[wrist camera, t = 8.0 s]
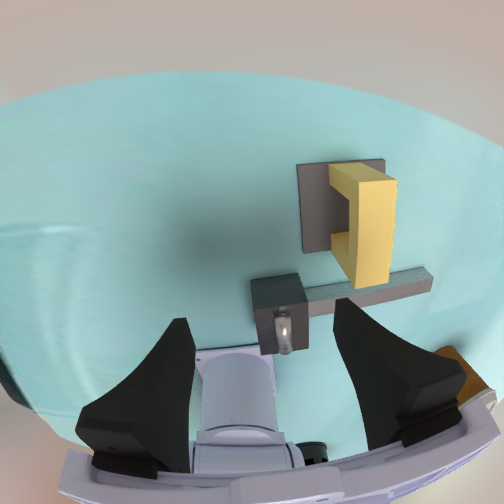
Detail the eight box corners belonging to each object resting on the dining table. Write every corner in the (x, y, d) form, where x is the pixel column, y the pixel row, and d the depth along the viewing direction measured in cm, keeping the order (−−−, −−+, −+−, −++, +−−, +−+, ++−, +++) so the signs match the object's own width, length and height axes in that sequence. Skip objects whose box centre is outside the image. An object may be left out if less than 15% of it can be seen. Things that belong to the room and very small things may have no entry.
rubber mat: (380, 240, 23) (382, 242, 22) (302, 251, 23) (303, 253, 22) (382, 159, 19) (385, 160, 19) (296, 164, 19) (297, 165, 19)
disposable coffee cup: (470, 341, 31) (507, 395, 21) (432, 383, 35) (460, 438, 25) (441, 332, 29) (485, 399, 19) (398, 380, 33) (428, 447, 22)
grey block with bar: (417, 293, 26) (440, 322, 21) (257, 324, 26) (261, 363, 22) (426, 251, 23) (454, 278, 19) (250, 280, 24) (254, 318, 19)
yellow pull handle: (358, 246, 22) (387, 282, 17) (330, 250, 22) (354, 289, 17) (359, 162, 19) (397, 179, 14) (328, 164, 19) (358, 182, 14)
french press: (294, 439, 39) (312, 559, 18) (338, 439, 41) (363, 545, 20) (264, 461, 43) (274, 561, 23) (305, 462, 46) (320, 553, 25)
